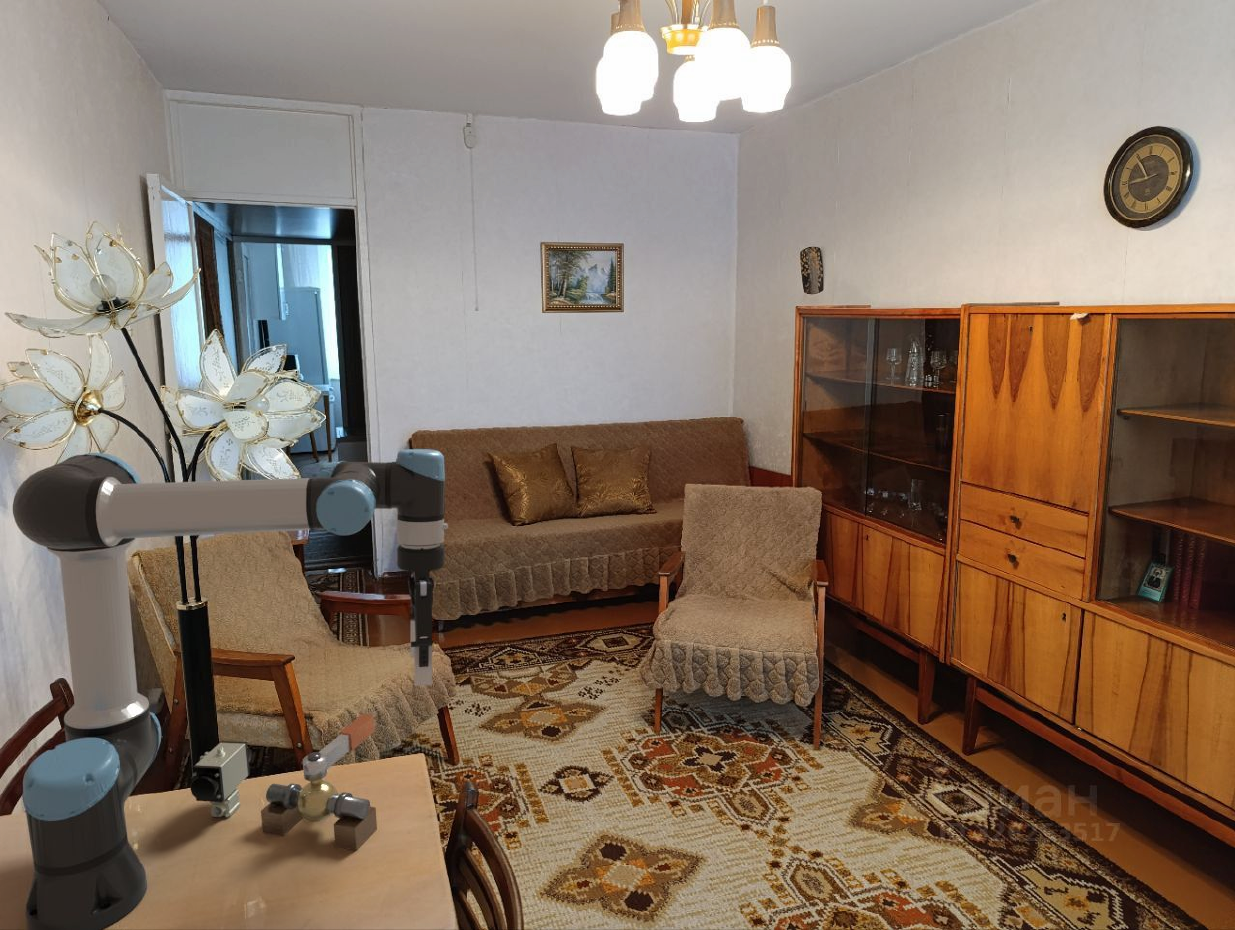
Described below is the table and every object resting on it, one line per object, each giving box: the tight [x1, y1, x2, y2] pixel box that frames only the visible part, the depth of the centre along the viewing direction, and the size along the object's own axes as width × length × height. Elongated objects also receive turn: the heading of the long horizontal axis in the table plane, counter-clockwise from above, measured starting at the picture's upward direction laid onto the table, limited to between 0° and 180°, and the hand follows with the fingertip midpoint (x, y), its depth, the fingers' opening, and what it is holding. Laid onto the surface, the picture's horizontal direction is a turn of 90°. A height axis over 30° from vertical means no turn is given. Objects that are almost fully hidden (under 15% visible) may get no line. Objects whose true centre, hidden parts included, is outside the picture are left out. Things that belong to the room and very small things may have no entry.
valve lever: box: [302, 713, 376, 782], centre depth 147 cm, size 18×4×4 cm, turn 164°
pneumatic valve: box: [190, 740, 253, 818], centre depth 147 cm, size 6×12×12 cm, turn 174°
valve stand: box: [260, 778, 378, 852], centre depth 142 cm, size 18×7×10 cm, turn 74°
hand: (420, 670), depth 141 cm, fingers open, 13 cm apart
